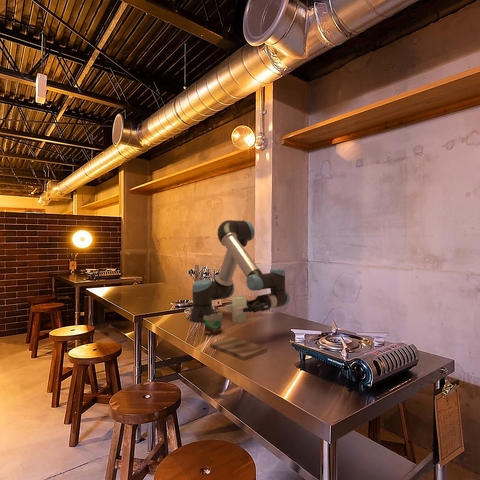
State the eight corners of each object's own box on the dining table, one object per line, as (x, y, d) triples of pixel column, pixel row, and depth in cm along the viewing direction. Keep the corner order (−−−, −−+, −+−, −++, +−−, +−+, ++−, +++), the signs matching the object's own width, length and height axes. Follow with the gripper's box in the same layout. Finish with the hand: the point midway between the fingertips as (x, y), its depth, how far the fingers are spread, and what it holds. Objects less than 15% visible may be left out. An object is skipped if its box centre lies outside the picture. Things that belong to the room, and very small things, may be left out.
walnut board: (210, 346, 144) (210, 343, 144) (232, 339, 154) (232, 336, 154) (244, 360, 128) (244, 356, 128) (267, 351, 138) (266, 347, 138)
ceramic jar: (229, 321, 141) (229, 297, 141) (239, 319, 146) (239, 295, 146) (239, 324, 137) (239, 299, 137) (249, 321, 141) (249, 297, 141)
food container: (212, 337, 158) (212, 317, 157) (203, 335, 161) (203, 315, 161) (227, 331, 167) (227, 312, 167) (219, 329, 171) (218, 310, 171)
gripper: (281, 313, 147) (247, 322, 131) (251, 306, 161) (216, 314, 145) (281, 297, 147) (247, 304, 131) (251, 292, 161) (216, 298, 144)
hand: (231, 310), depth 138 cm, fingers closed on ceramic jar, 6 cm apart
